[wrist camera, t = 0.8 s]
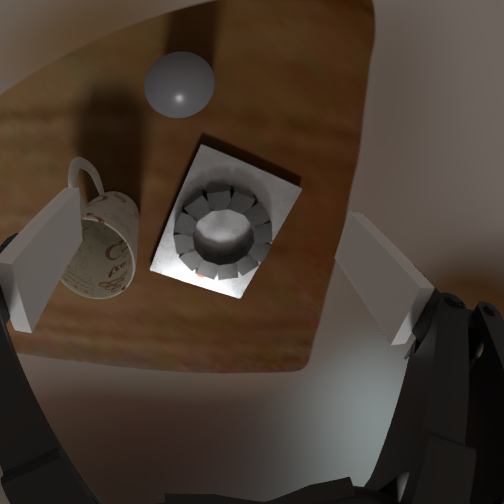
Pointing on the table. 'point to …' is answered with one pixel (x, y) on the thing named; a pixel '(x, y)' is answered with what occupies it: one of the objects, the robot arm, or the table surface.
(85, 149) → the table surface
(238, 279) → the mount
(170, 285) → the table surface
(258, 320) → the table surface
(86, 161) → the mug
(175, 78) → the lens
